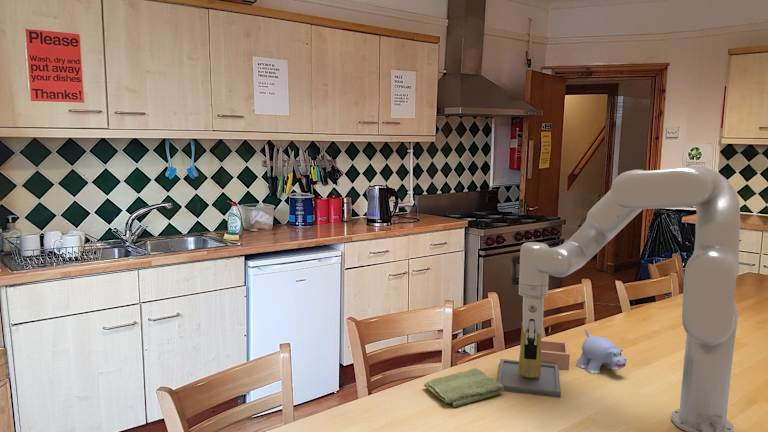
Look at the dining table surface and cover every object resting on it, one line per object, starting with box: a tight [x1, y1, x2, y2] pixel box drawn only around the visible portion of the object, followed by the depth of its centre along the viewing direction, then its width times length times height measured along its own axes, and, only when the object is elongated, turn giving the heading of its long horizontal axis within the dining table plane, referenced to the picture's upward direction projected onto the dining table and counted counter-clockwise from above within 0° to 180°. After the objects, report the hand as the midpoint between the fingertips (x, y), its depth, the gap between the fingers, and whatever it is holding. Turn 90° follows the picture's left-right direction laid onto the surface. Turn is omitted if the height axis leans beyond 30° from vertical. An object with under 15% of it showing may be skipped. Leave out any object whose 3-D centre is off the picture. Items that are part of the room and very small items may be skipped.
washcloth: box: [423, 367, 504, 408], centre depth 151 cm, size 13×18×3 cm
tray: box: [496, 358, 562, 398], centre depth 159 cm, size 18×16×2 cm
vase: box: [518, 320, 542, 378], centre depth 158 cm, size 6×6×14 cm
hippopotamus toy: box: [576, 328, 627, 375], centre depth 167 cm, size 11×15×10 cm
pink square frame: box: [541, 339, 570, 371], centre depth 172 cm, size 10×10×4 cm
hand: (530, 353), depth 158 cm, fingers closed on vase, 5 cm apart
